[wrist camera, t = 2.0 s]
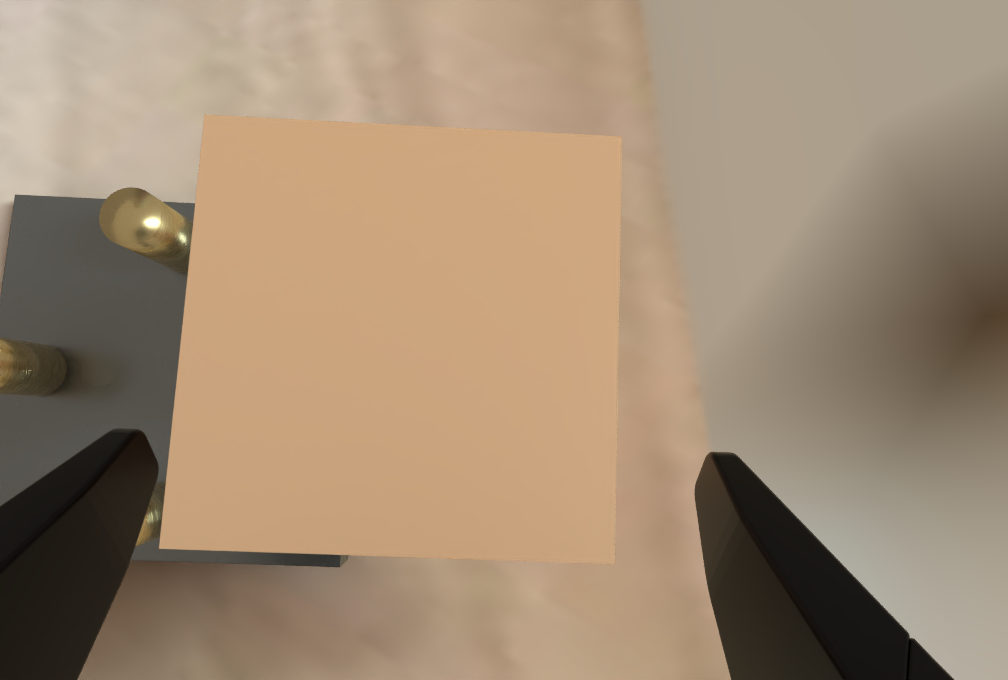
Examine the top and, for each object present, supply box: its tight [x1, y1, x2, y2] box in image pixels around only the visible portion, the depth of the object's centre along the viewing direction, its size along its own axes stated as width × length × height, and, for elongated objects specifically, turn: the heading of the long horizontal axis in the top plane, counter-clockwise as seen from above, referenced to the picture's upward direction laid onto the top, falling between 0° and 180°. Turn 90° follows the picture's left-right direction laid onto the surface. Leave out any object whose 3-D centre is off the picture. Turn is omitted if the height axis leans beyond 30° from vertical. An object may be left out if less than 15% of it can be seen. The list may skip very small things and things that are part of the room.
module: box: [159, 115, 622, 564], centre depth 13 cm, size 4×4×13 cm
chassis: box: [0, 188, 348, 567], centre depth 17 cm, size 10×10×4 cm
